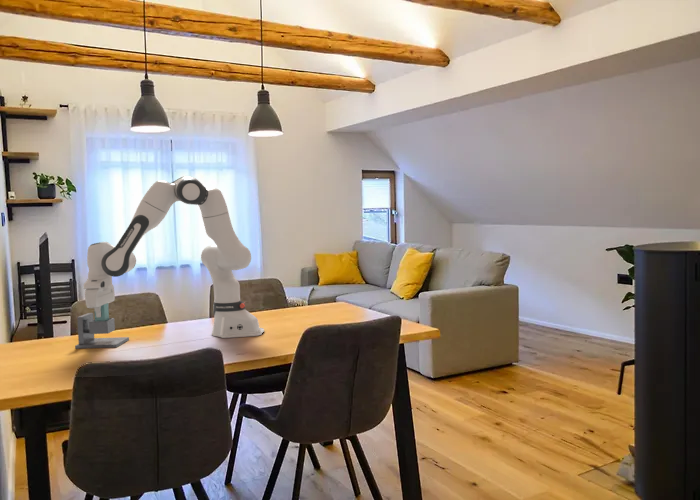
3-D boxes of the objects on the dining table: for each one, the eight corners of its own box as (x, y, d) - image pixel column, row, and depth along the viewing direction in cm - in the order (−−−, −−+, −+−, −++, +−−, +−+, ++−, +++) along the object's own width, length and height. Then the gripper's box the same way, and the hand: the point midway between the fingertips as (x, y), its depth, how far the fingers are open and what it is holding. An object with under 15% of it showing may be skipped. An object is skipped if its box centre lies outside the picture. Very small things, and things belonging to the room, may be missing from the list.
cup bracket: (129, 340, 236) (127, 311, 235) (116, 347, 222) (115, 316, 221) (90, 341, 236) (89, 312, 235) (75, 348, 222) (73, 317, 221)
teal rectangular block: (109, 325, 231) (108, 303, 230) (105, 326, 227) (104, 304, 226) (99, 325, 230) (98, 303, 230) (95, 327, 226) (94, 304, 226)
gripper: (102, 279, 238) (104, 312, 239) (81, 285, 217) (83, 320, 218) (117, 279, 238) (119, 311, 239) (97, 284, 218) (99, 320, 218)
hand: (101, 316), depth 228 cm, fingers closed on teal rectangular block, 4 cm apart
